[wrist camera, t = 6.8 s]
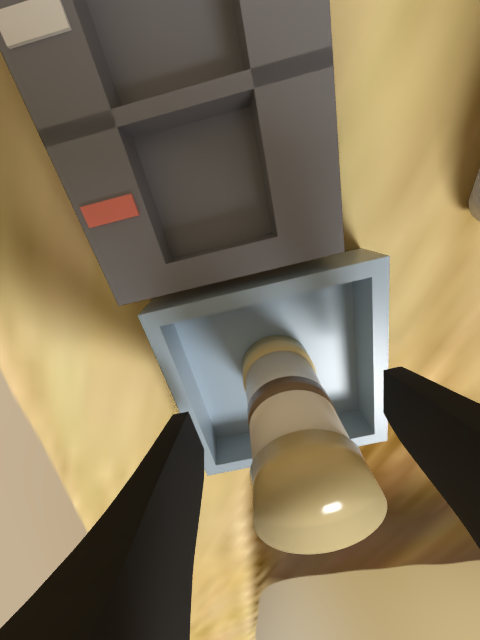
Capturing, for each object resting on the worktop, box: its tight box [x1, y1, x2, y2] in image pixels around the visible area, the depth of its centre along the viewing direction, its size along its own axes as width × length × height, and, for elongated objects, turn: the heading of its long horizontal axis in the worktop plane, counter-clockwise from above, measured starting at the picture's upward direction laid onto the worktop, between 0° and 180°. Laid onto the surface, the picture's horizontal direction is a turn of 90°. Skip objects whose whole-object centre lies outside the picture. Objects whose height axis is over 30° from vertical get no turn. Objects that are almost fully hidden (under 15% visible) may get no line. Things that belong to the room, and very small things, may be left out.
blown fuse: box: [242, 335, 387, 554], centre depth 9 cm, size 3×3×6 cm
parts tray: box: [138, 248, 390, 476], centre depth 11 cm, size 9×9×2 cm
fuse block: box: [0, 0, 345, 306], centre depth 7 cm, size 8×10×2 cm
